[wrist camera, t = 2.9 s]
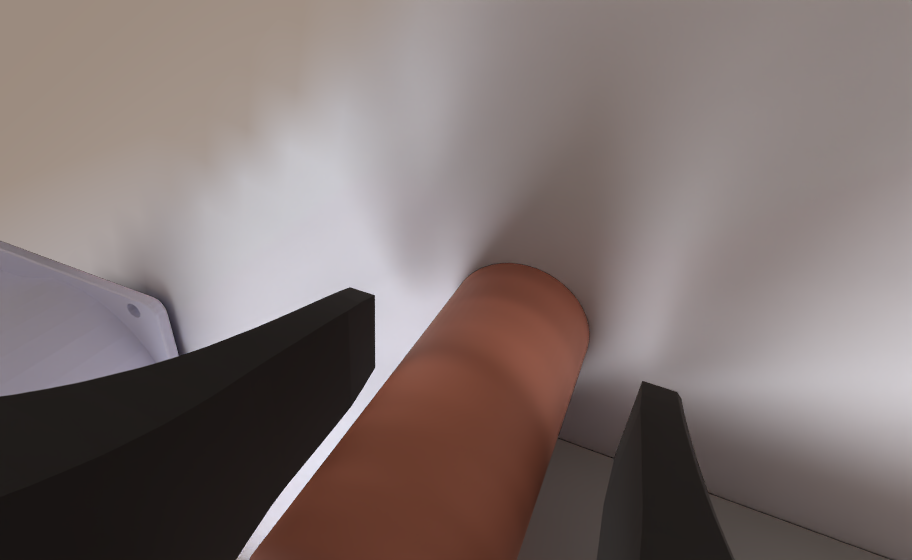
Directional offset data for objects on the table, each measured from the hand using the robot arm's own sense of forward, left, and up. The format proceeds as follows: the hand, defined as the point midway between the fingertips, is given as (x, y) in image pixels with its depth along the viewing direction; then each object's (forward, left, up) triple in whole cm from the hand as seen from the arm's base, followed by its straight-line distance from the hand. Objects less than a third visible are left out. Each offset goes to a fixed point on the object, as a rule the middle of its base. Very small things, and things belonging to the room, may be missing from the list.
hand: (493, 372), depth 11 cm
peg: (0, 0, -2) cm, 2 cm away
